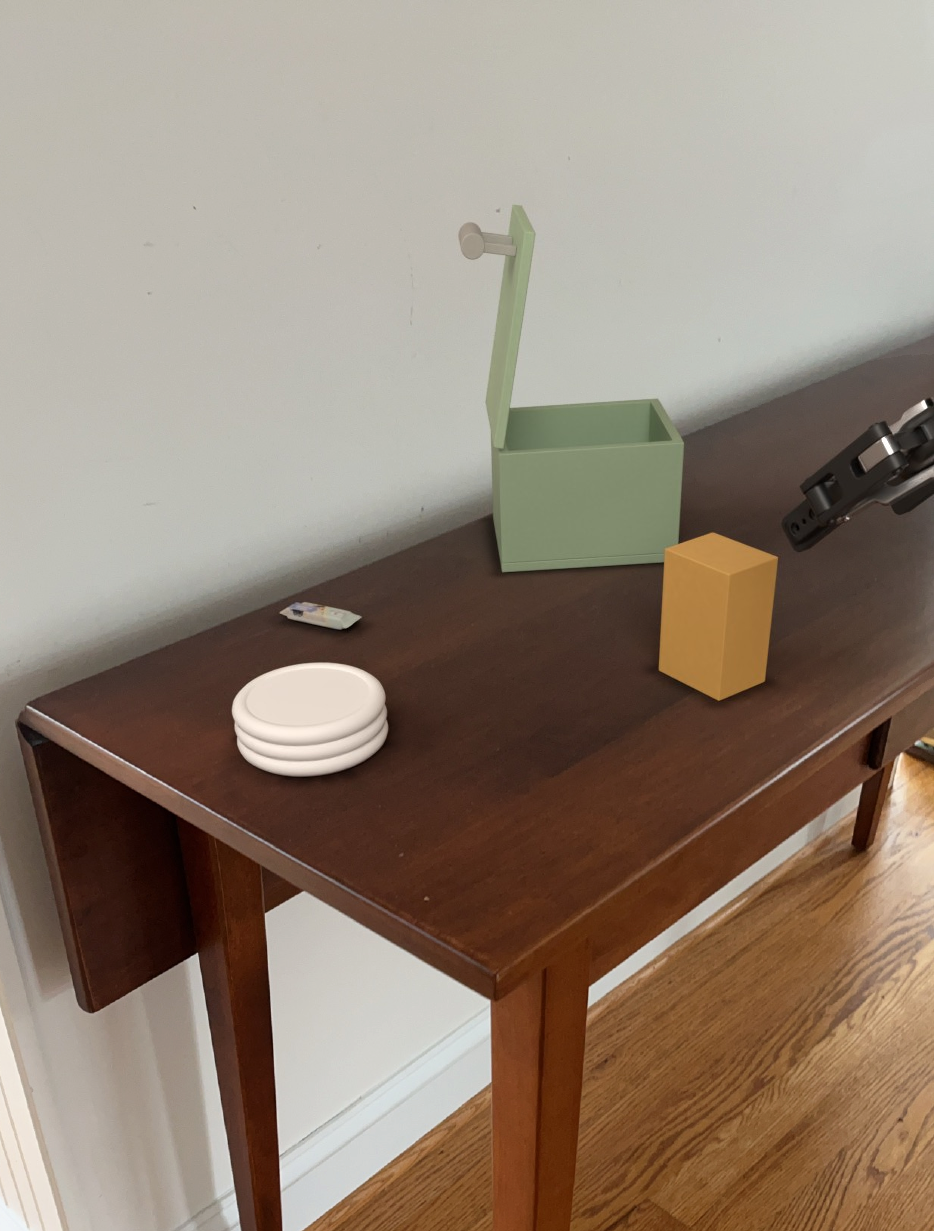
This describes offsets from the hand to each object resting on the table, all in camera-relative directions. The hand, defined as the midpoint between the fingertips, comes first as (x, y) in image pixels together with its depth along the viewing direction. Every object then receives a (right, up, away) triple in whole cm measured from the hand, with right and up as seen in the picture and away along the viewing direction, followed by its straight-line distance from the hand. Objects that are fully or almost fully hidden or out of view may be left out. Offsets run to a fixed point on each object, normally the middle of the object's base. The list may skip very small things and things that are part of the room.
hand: (843, 518), depth 74 cm
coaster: (-32, -12, +10) cm, 36 cm away
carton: (-5, -7, +15) cm, 17 cm away
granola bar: (-33, -1, +25) cm, 42 cm away
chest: (-11, +9, +36) cm, 39 cm away
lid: (-18, +23, +26) cm, 39 cm away
